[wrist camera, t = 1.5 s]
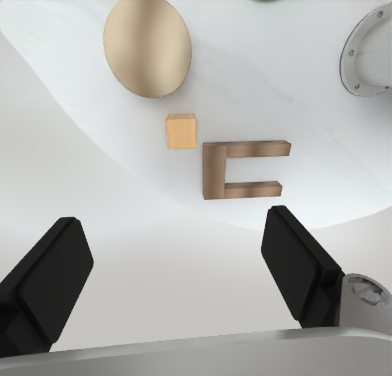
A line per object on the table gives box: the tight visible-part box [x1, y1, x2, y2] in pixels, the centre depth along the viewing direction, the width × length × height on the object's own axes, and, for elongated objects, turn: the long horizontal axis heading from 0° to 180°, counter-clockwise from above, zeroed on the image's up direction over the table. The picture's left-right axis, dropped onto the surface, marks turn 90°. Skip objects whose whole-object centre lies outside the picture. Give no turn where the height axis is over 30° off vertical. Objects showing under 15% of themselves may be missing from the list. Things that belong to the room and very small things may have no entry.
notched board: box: [203, 141, 291, 200], centre depth 39 cm, size 16×11×2 cm
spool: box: [103, 0, 192, 98], centre depth 26 cm, size 9×9×12 cm
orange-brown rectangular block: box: [166, 114, 196, 149], centre depth 33 cm, size 4×4×6 cm
